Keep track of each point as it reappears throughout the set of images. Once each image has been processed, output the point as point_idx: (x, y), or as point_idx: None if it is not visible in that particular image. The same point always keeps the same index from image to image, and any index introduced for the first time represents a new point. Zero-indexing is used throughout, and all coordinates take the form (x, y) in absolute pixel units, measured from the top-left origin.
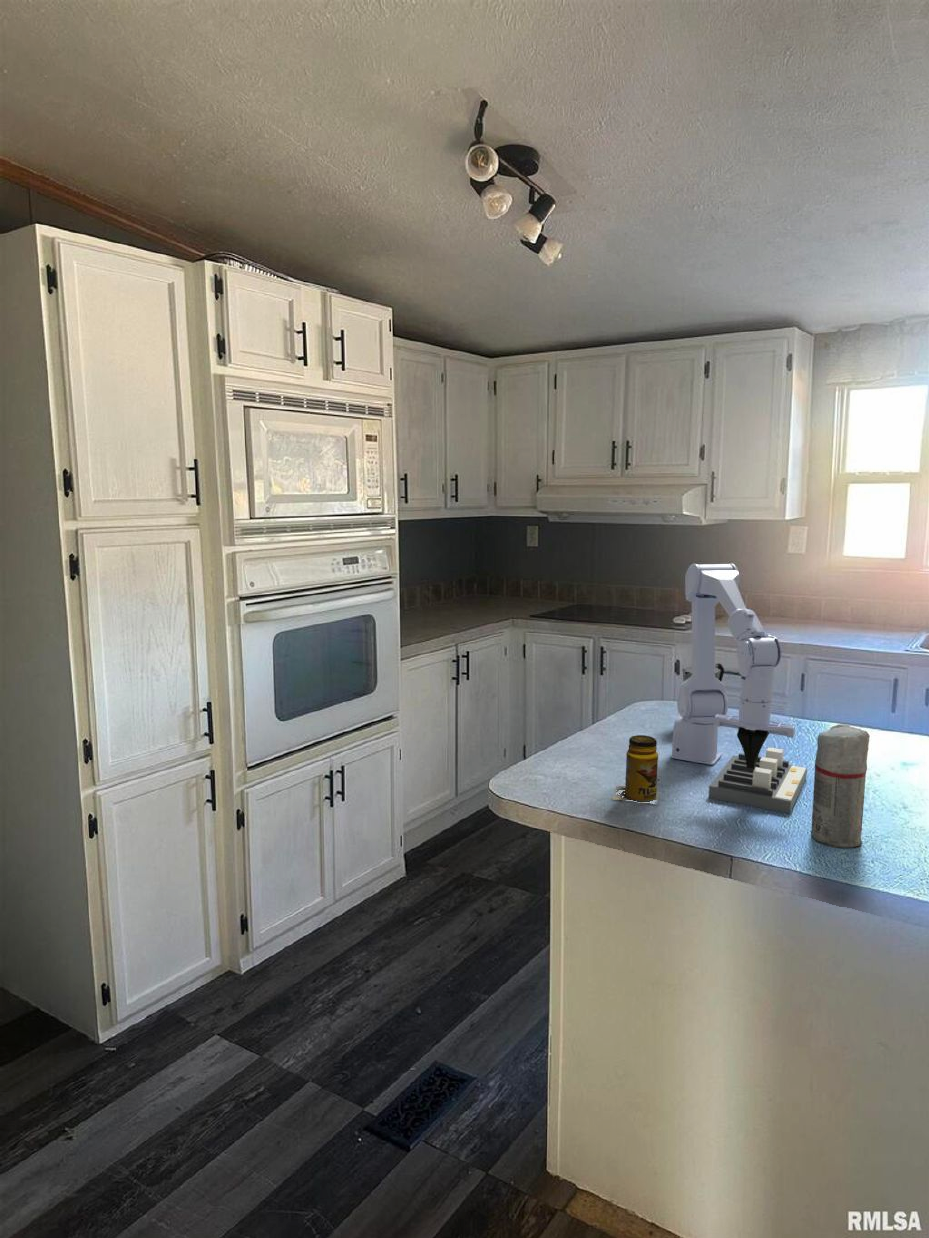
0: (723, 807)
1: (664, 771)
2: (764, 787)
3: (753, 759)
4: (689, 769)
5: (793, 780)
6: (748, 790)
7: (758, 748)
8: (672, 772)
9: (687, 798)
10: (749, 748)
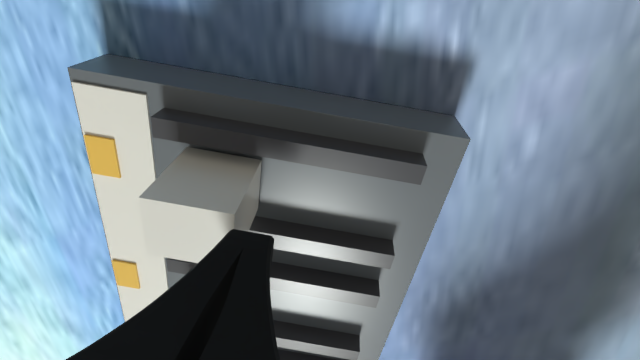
0: (391, 13)
1: (594, 312)
2: (199, 158)
3: (209, 266)
4: (492, 340)
5: (135, 283)
6: (274, 130)
7: (111, 338)
8: (563, 310)
9: (564, 70)
10: (208, 342)
